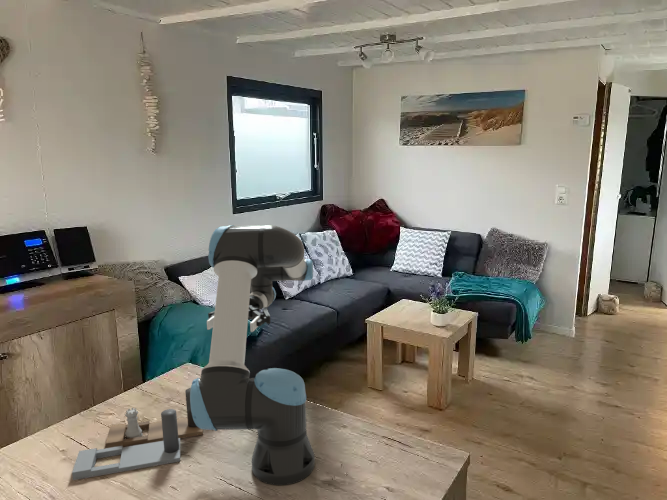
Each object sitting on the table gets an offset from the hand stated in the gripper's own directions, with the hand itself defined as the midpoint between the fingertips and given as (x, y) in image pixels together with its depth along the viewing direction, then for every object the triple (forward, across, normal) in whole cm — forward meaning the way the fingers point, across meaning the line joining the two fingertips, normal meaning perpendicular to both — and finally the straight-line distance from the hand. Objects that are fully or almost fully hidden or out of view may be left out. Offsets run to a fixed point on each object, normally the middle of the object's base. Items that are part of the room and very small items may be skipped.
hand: (229, 326), depth 151 cm
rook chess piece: (+24, +19, -24) cm, 39 cm away
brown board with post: (+21, +14, -24) cm, 34 cm away
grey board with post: (+33, +14, -24) cm, 43 cm away
